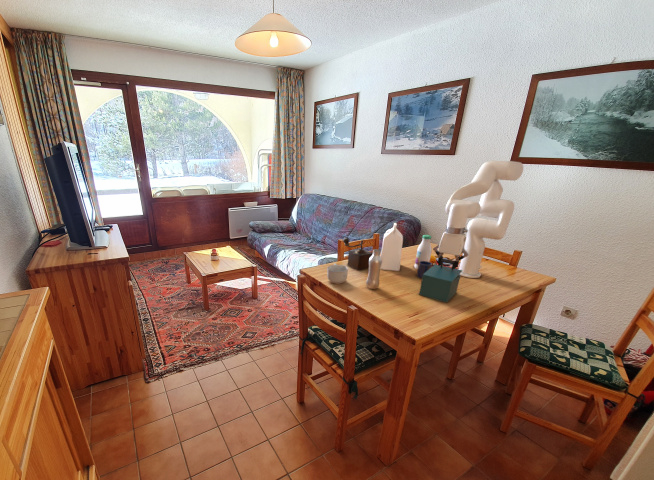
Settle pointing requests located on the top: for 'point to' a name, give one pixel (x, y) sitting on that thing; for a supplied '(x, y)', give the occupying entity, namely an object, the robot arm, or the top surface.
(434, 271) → the cool box lid
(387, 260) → the milk
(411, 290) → the top surface
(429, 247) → the milk bottle
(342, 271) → the teacup
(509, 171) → the robot arm
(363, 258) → the manual coffee grinder
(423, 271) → the cup
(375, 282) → the plastic bottle
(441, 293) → the cool box
